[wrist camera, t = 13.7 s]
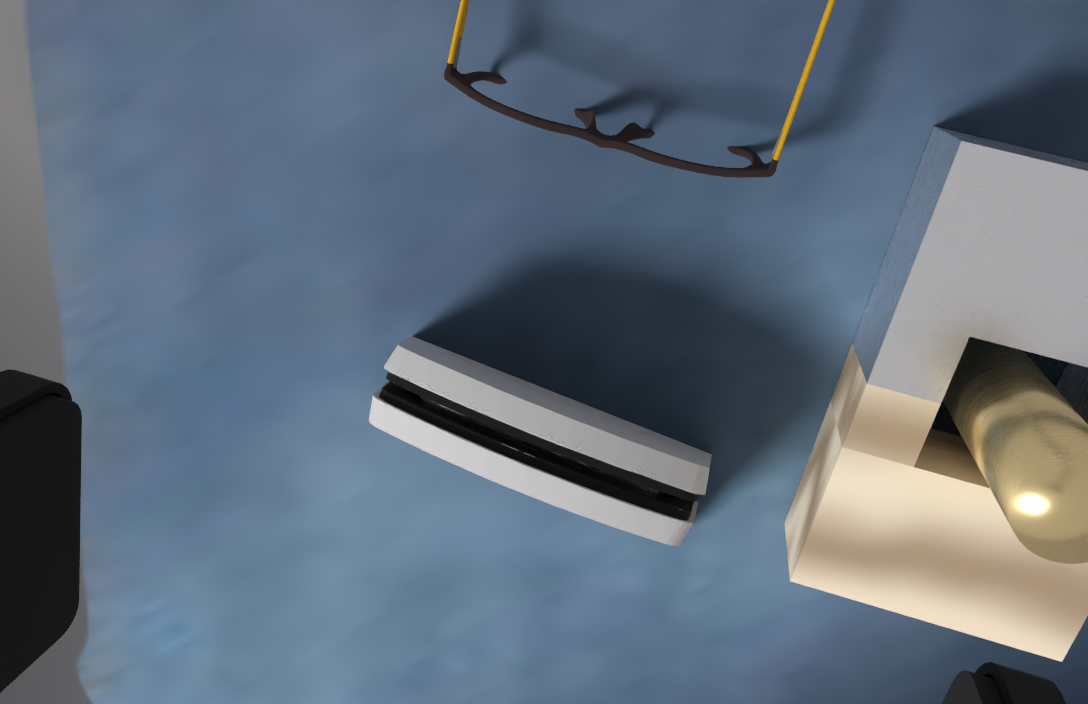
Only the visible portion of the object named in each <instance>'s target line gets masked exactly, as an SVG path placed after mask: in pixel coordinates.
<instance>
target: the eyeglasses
mask: <svg viewBox="0 0 1088 704" xmlns="http://www.w3.org/2000/svg"><path fill="white" fill-rule="evenodd" d="M834 3H835V0H829V1H828V4H827V7H826V9H825V12H824V15H823V18H822V21H821V23H820V26H819V29H818V32H817V35H816V37H815V40H814V43H813V46H812V49H811V51H810V54H809V57H808V60H807V63H806V65H805V68H804V71H803V74H802V77H801V79H800V82H799V85H798V88H797V91H796V93H795V96H794V99H793V102H792V104H791V107H790V110H789V112H788V115H787V118H786V121H785V124H784V126H783V129H782V131H781V133H780V135H779V138H778V140H777V142H776V145H775V147H774V149H773V152H772V155H771V159H770V163H768V164H764V163H763V162H762V161H761V159H760V157H759V156H758V155H757V154H756V153H755V152H753V151H752V150H750V149H747V148H743V147H733V146H731V147H727V148H728V150H729V151H730V152H731V153H733V154H736V155H740V156H743V157H746V158H748V159H749V160H750V161H751V163H752V165H750V166H748V167H745V168H724V167H715V166H709V165H703V164H698V163H693V162H688V161H684V160H680V159H677V158H673V157H669V156H666V155H662V154H659V153H656V152H653V151H650V150H647V149H645V148H642V147H640V146H637V145H634V144H631V143H628V142H627V141H631V140H635V139H641V138H651V137H652V136H653V135H654V134H655V132H654V131H650V130H646V129H643V128H641V127H640V126H638V125H637V124H636V123H630V124H628V125H627V126H626V127H625V128H624V129H623V130H622V131H621V132H620V133H619V134H617V135H613V136H608V135H604V134H602V133H601V132H599V131H598V130H597V128H596V121H595V115H594V112H593V111H592V110H590V111H583V110H580V109H575V115H576V116H577V117H578V118H579V119H580V120H581V121H582V122H583V123H584V124H585V126H586V129H582V128H578V127H574V126H570V125H565V124H561V123H557V122H553V121H549V120H545V119H542V118H539V117H535V116H532V115H529V114H526V113H523V112H521V111H518V110H515V109H513V108H510V107H508V106H505V105H503V104H501V103H499V102H496V101H494V100H492V99H490V98H488V97H486V96H485V95H483V94H481V93H480V92H478V91H476V90H475V89H474V88H473V87H472V86H471V83H473V82H476V81H479V80H485V81H490V82H494V83H497V84H505V83H506V82H507V81H506V80H505V79H503V78H502V77H500V76H498V75H496V74H493V73H490V72H481V71H480V72H473V73H468V74H461V73H459V72H458V71H457V69H456V65H457V63H458V62H457V61H458V58H459V52H460V45H461V39H462V35H463V30H464V25H465V21H466V16H467V10H468V4H469V0H461V3H460V8H459V12H458V17H457V22H456V26H455V31H454V35H453V40H452V45H451V49H450V54H449V59H448V63H447V67H446V70H445V73H444V78H445V80H447V81H448V82H449V83H450V84H452V85H453V86H455V87H456V88H457V89H459V90H460V91H462V92H463V93H465V94H466V95H468V96H469V97H471V98H472V99H474V100H476V101H477V102H479V103H481V104H483V105H485V106H487V107H488V108H490V109H493V110H495V111H497V112H499V113H502V114H504V115H507V116H509V117H512V118H514V119H517V120H519V121H522V122H525V123H527V124H530V125H533V126H536V127H539V128H542V129H546V130H549V131H553V132H558V133H563V134H568V135H572V136H576V137H579V138H582V139H585V140H587V141H590V142H592V143H594V144H595V145H597V146H599V147H603V148H614V149H618V150H622V151H626V152H629V153H632V154H634V155H637V156H639V157H641V158H644V159H647V160H649V161H652V162H656V163H659V164H663V165H666V166H670V167H674V168H678V169H683V170H687V171H692V172H697V173H702V174H708V175H714V176H723V177H770V176H772V175H773V174H774V173H775V171H776V167H777V163H778V159H779V157H780V154H781V151H782V148H783V145H784V143H785V140H786V137H787V134H788V132H789V129H790V126H791V123H792V120H793V118H794V115H795V112H796V109H797V107H798V104H799V101H800V98H801V95H802V93H803V90H804V87H805V84H806V81H807V79H808V76H809V73H810V70H811V67H812V65H813V62H814V59H815V56H816V53H817V51H818V48H819V45H820V42H821V39H822V36H823V34H824V31H825V28H826V25H827V22H828V20H829V17H830V14H831V11H832V8H833V6H834Z"/></svg>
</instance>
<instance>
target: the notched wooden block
mask: <svg viewBox="0 0 1088 704" xmlns="http://www.w3.org/2000/svg"><path fill="white" fill-rule="evenodd" d="M940 405H941V404H940V403H936V402H932V401H928V400H925V399H921V398H917V397H914V396H910V395H906V394H903V393H899V392H895V391H892V390H888V389H884V388H880V387H877V386H873V385H869V384H867V383H866V380H865V377H864V374H863V372H862V369H861V366H860V363H859V360H858V358H857V355H856V352H855V349H854V347H853V344H852V345H851V348H850V350H849V353H848V356H847V358H846V361H845V364H844V366H843V369H842V372H841V374H840V377H839V380H838V382H837V385H836V388H835V390H834V393H833V396H832V398H831V401H830V404H829V406H828V409H827V412H826V414H825V417H824V420H823V422H822V425H821V428H820V430H819V433H818V436H817V439H816V441H815V444H814V447H813V449H812V452H811V455H810V457H809V460H808V463H807V465H806V468H805V471H804V473H803V476H802V479H801V481H800V484H799V487H798V489H797V492H796V495H795V497H794V500H793V503H792V505H791V508H790V511H789V513H788V516H787V519H786V521H785V533H786V543H787V553H788V563H789V573H790V581H792V582H795V583H798V584H802V585H805V586H808V587H812V588H815V589H819V590H822V591H825V592H829V593H832V594H835V595H839V596H842V597H846V598H849V599H852V600H856V601H859V602H862V603H866V604H869V605H872V606H876V607H879V608H883V609H886V610H889V611H893V612H896V613H899V614H903V615H906V616H909V617H913V618H916V619H920V620H923V621H926V622H930V623H933V624H936V625H940V626H943V627H946V628H950V629H953V630H957V631H960V632H963V633H967V634H970V635H973V636H977V637H980V638H984V639H987V640H990V641H994V642H997V643H1000V644H1004V645H1007V646H1010V647H1014V648H1017V649H1021V650H1024V651H1027V652H1031V653H1034V654H1037V655H1041V656H1044V657H1047V658H1051V659H1054V660H1058V661H1061V662H1062V661H1063V659H1064V657H1065V655H1066V654H1067V652H1068V650H1069V648H1070V646H1071V645H1072V643H1073V641H1074V639H1075V637H1076V636H1077V634H1078V632H1079V630H1080V628H1081V627H1082V625H1083V623H1084V621H1085V619H1086V618H1087V616H1088V562H1087V563H1078V564H1066V563H1058V562H1054V561H1050V560H1047V559H1044V558H1041V557H1039V556H1037V555H1035V554H1034V553H1032V552H1031V551H1029V550H1028V549H1027V548H1026V547H1025V546H1023V544H1022V543H1021V542H1020V541H1019V540H1018V538H1017V537H1016V535H1015V533H1014V532H1013V530H1012V528H1011V526H1010V524H1009V522H1008V521H1007V519H1006V517H1005V515H1004V513H1003V511H1002V509H1001V508H1000V506H999V504H998V502H997V500H996V498H995V497H994V495H993V493H992V491H991V489H990V487H989V485H988V484H987V482H986V480H985V478H984V476H983V474H982V473H981V471H980V469H979V467H978V465H977V463H976V461H975V460H974V458H973V456H972V454H971V452H970V450H969V449H968V447H967V445H966V443H965V441H964V439H963V437H961V436H958V435H954V434H950V433H947V432H943V431H939V430H936V429H932V428H931V426H932V423H933V421H934V419H935V416H936V414H937V412H938V409H939V407H940Z"/></svg>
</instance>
